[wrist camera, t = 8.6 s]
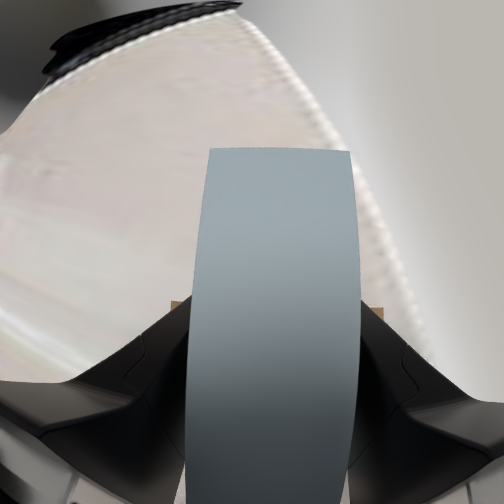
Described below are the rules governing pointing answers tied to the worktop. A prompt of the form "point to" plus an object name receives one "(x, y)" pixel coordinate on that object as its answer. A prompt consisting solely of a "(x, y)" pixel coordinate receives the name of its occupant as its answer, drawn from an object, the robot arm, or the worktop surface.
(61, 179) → the worktop surface
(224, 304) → the grey slotted plate
